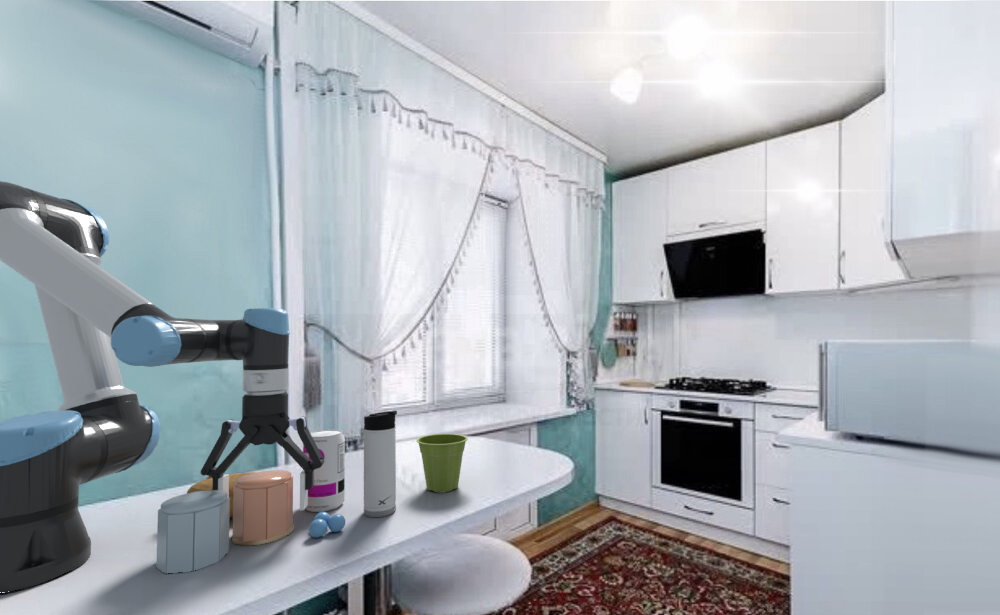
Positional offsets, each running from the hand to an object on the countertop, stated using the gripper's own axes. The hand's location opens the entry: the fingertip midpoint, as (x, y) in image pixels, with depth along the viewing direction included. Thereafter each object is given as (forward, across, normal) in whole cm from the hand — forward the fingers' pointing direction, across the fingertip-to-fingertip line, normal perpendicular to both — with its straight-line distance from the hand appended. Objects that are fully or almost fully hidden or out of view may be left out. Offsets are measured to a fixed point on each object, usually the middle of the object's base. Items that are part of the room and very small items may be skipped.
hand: (263, 510), depth 83 cm
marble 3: (+4, +13, -2) cm, 14 cm away
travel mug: (+4, +20, +6) cm, 21 cm away
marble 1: (+4, +10, 0) cm, 11 cm away
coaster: (+4, 0, 0) cm, 4 cm away
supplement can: (+4, +8, +12) cm, 15 cm away
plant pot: (+4, +33, +18) cm, 38 cm away
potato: (+4, -10, +10) cm, 15 cm away
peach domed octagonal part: (+3, 0, 0) cm, 3 cm away
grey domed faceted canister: (+4, -8, -8) cm, 12 cm away
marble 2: (+4, +10, -4) cm, 11 cm away
